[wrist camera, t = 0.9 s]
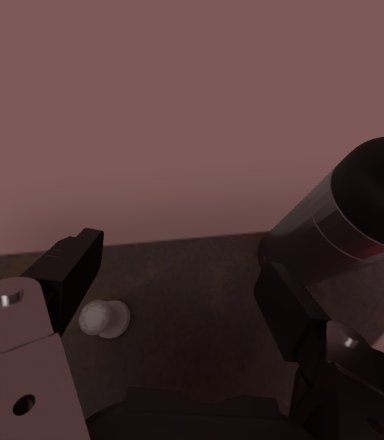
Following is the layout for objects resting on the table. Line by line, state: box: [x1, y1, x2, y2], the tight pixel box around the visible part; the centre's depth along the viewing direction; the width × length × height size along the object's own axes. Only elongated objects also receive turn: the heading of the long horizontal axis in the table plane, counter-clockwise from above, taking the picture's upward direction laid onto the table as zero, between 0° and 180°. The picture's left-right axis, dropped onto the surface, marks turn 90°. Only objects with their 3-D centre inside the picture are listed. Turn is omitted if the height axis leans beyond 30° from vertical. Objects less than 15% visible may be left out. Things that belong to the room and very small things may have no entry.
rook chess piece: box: [79, 300, 130, 339], centre depth 24 cm, size 4×4×8 cm
